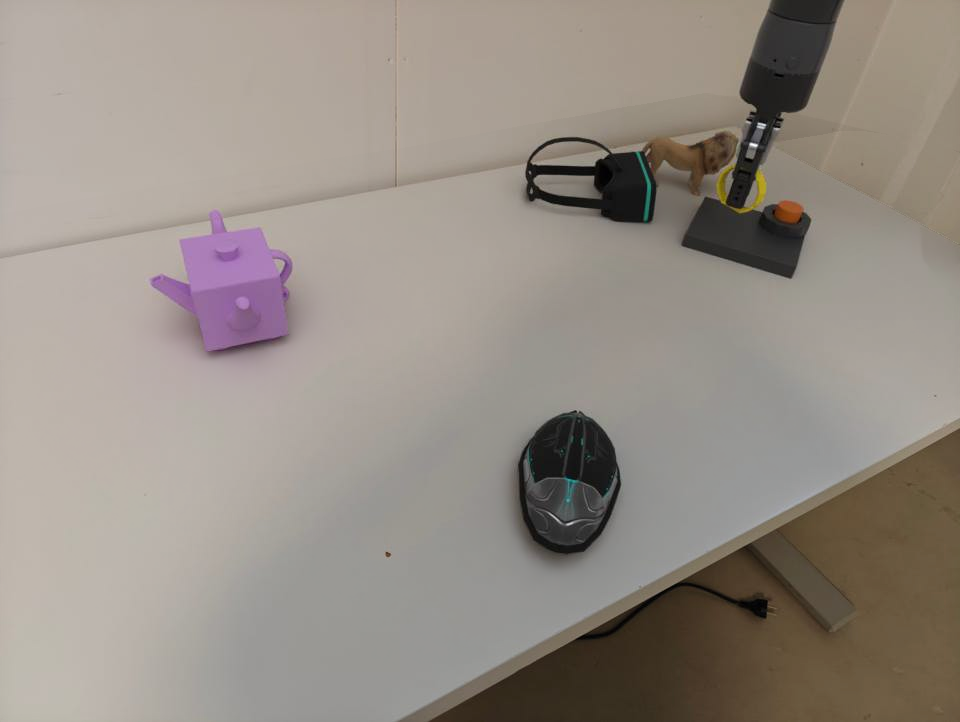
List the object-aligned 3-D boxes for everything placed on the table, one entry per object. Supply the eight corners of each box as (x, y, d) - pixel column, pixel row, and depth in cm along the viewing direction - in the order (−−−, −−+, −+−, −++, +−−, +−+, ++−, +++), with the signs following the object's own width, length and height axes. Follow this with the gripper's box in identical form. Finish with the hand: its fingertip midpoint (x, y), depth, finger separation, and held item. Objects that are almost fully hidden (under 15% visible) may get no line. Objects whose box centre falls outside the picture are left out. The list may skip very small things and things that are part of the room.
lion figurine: (721, 184, 104) (740, 126, 98) (723, 201, 100) (743, 142, 94) (623, 170, 105) (637, 112, 99) (622, 185, 101) (636, 126, 95)
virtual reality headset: (652, 223, 93) (661, 153, 86) (527, 229, 94) (526, 160, 87) (639, 185, 101) (646, 118, 94) (524, 190, 102) (523, 124, 95)
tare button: (799, 216, 92) (805, 204, 90) (796, 226, 89) (802, 214, 88) (775, 209, 93) (780, 197, 91) (771, 219, 90) (776, 207, 89)
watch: (707, 200, 88) (722, 157, 84) (720, 195, 90) (735, 152, 86) (747, 221, 85) (764, 176, 81) (759, 215, 87) (777, 170, 83)
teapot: (158, 289, 75) (135, 209, 69) (280, 268, 80) (269, 191, 73) (178, 398, 63) (152, 314, 57) (319, 366, 68) (310, 285, 61)
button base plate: (803, 234, 94) (813, 212, 92) (791, 279, 86) (802, 255, 83) (702, 206, 98) (709, 184, 96) (681, 246, 90) (688, 222, 87)
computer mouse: (622, 425, 65) (635, 380, 61) (609, 582, 52) (626, 539, 48) (531, 407, 66) (539, 362, 62) (498, 557, 53) (505, 512, 49)
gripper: (762, 35, 81) (718, 171, 93) (740, 69, 72) (694, 216, 83) (828, 49, 79) (775, 186, 90) (814, 85, 69) (757, 234, 81)
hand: (736, 200), depth 87 cm, fingers closed on watch, 2 cm apart
